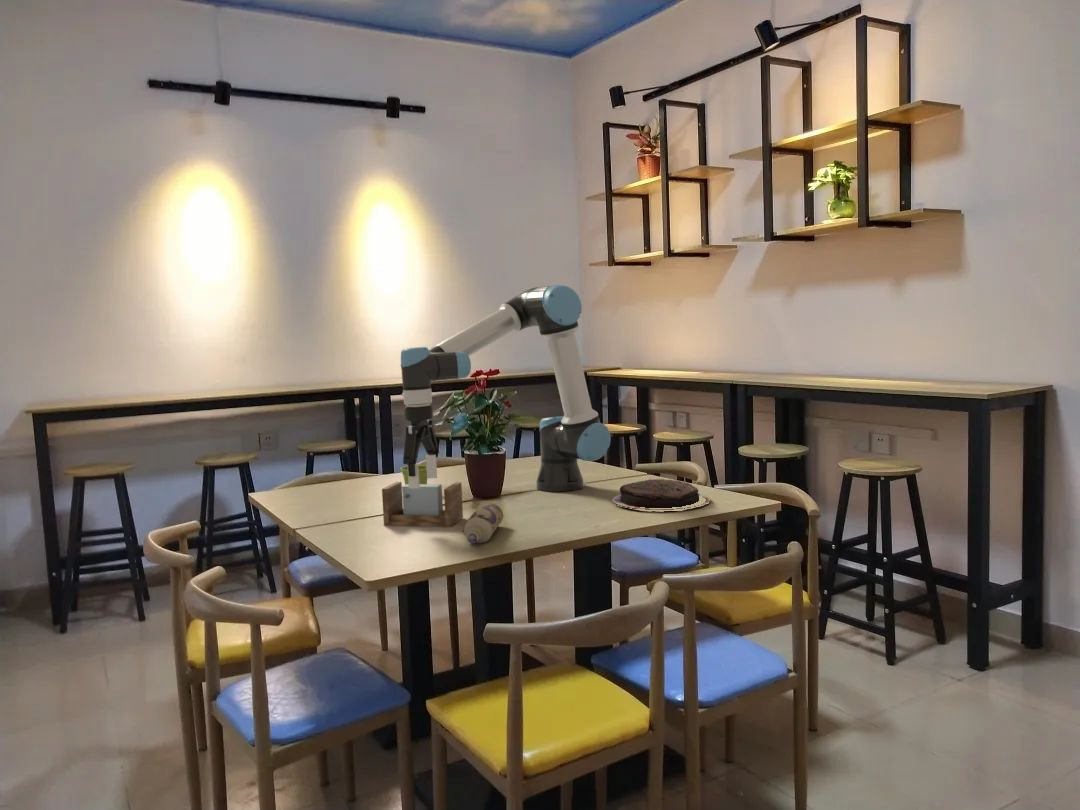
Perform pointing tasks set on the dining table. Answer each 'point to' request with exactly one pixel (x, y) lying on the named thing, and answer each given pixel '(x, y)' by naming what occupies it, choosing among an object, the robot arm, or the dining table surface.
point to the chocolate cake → (658, 495)
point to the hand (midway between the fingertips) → (423, 483)
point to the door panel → (423, 500)
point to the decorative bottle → (483, 523)
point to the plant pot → (422, 474)
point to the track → (396, 515)
